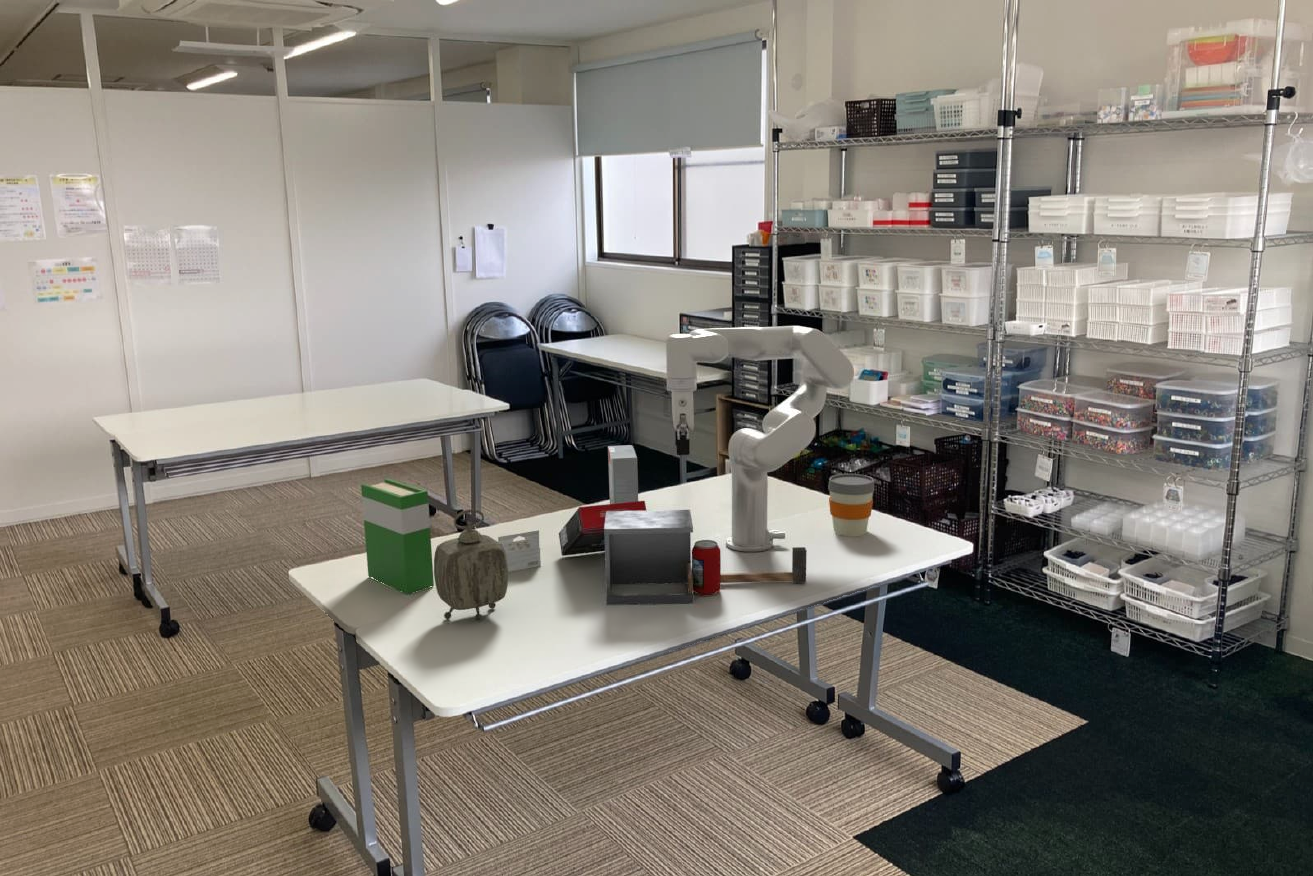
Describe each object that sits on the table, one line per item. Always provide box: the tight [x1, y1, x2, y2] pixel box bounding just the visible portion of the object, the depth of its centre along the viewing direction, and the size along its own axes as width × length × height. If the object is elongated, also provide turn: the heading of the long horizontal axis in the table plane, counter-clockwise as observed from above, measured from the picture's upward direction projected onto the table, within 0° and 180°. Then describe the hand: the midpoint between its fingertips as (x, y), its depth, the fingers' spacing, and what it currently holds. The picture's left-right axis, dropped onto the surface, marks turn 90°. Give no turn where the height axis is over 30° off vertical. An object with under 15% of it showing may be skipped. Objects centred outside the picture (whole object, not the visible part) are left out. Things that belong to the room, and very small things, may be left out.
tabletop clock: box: [433, 508, 509, 622], centre depth 228 cm, size 14×9×25 cm, turn 123°
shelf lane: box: [604, 509, 695, 606], centre depth 242 cm, size 20×14×18 cm
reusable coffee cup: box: [827, 473, 875, 537], centre depth 286 cm, size 13×13×15 cm
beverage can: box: [691, 539, 722, 596], centre depth 243 cm, size 7×7×12 cm
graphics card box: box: [558, 500, 647, 556], centre depth 262 cm, size 17×7×27 cm
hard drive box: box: [607, 444, 639, 504], centre depth 302 cm, size 16×8×20 cm, turn 6°
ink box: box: [497, 529, 542, 573], centre depth 261 cm, size 2×11×10 cm, turn 117°
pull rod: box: [686, 546, 808, 595], centre depth 244 cm, size 28×11×8 cm, turn 91°
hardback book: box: [360, 478, 435, 596], centre depth 252 cm, size 18×7×24 cm, turn 46°
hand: (682, 450), depth 263 cm, fingers open, 9 cm apart
